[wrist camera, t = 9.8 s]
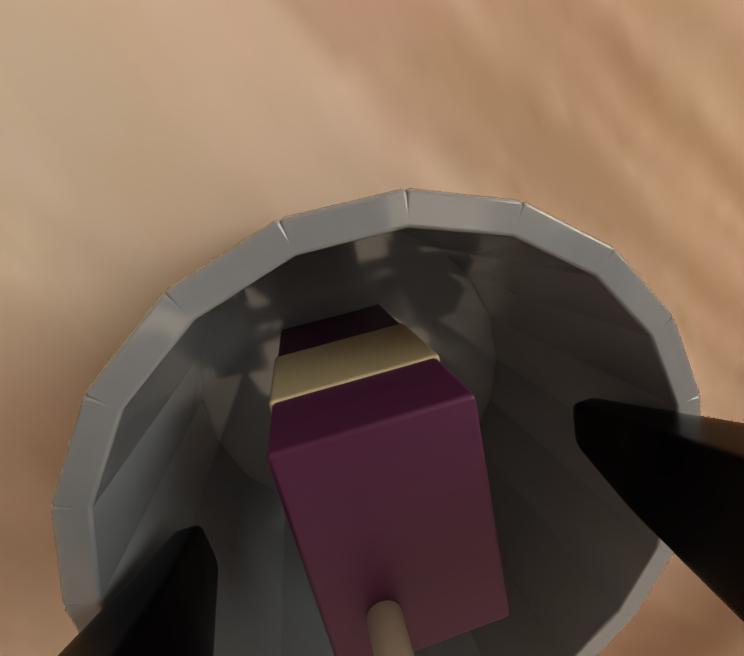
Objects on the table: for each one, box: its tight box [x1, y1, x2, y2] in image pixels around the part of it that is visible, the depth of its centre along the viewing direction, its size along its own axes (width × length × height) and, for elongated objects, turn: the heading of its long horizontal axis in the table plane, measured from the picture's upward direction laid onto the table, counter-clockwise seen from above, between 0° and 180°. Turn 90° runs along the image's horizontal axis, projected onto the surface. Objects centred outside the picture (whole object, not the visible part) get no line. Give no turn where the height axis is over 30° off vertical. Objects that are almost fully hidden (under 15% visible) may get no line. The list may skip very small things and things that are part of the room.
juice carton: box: [267, 305, 509, 656], centre depth 9 cm, size 3×5×10 cm
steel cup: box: [51, 188, 700, 656], centre depth 10 cm, size 11×11×8 cm
